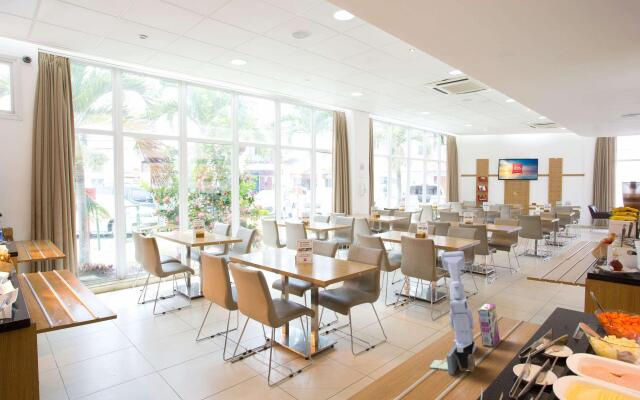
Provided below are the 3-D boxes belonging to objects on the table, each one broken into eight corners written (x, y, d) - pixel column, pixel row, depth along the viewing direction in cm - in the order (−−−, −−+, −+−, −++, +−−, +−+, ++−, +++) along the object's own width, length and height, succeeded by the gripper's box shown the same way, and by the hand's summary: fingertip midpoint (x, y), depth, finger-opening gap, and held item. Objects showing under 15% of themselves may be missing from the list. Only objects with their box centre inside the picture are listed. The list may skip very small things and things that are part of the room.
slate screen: (457, 360, 157) (455, 343, 157) (461, 360, 156) (458, 343, 157) (448, 374, 145) (446, 356, 146) (452, 374, 145) (450, 356, 145)
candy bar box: (493, 347, 166) (488, 310, 167) (482, 345, 169) (477, 309, 170) (500, 339, 175) (495, 303, 175) (489, 337, 178) (484, 303, 179)
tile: (435, 361, 159) (434, 359, 159) (453, 363, 155) (452, 361, 155) (429, 368, 153) (429, 366, 153) (448, 370, 149) (448, 368, 149)
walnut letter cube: (462, 365, 152) (460, 352, 152) (475, 367, 149) (473, 353, 149) (459, 370, 147) (457, 357, 148) (472, 372, 145) (471, 358, 145)
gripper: (456, 323, 157) (460, 356, 156) (447, 334, 145) (452, 370, 144) (473, 324, 153) (478, 358, 153) (466, 336, 141) (471, 372, 141)
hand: (466, 364), depth 148 cm, fingers open, 7 cm apart
